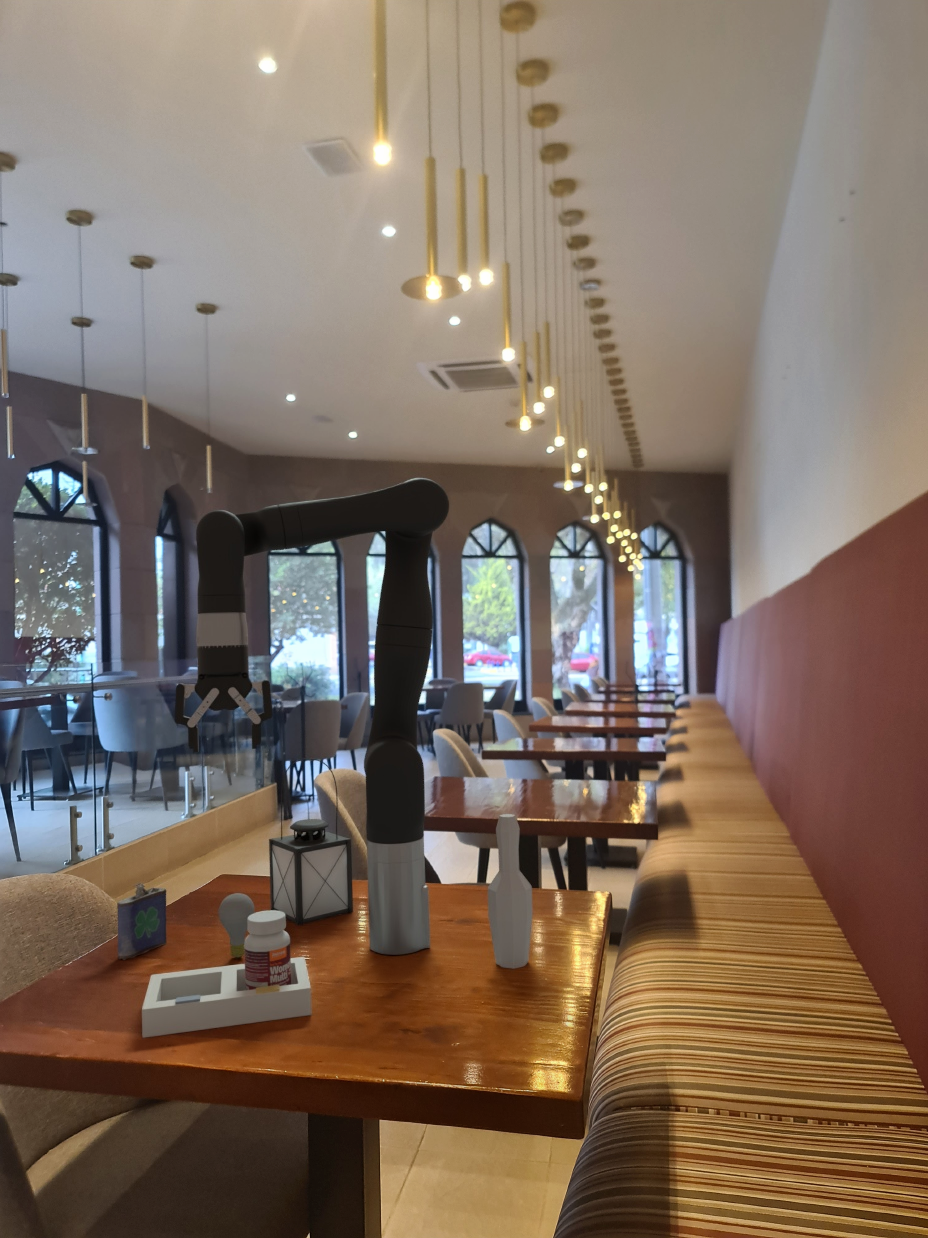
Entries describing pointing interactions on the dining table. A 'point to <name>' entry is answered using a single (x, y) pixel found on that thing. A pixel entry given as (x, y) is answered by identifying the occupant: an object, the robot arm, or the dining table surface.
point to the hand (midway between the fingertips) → (225, 750)
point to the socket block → (220, 999)
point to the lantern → (311, 871)
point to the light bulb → (236, 920)
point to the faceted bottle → (510, 900)
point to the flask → (141, 922)
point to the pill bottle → (267, 950)
